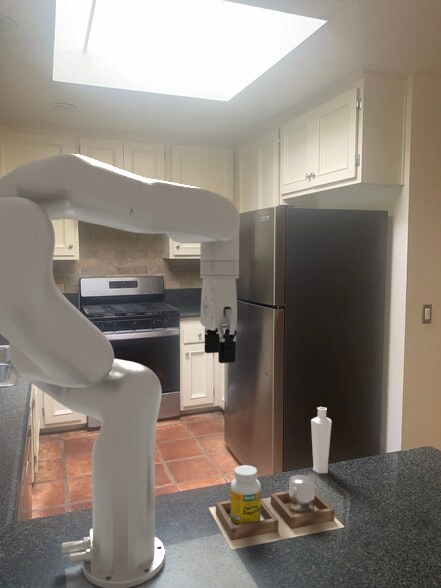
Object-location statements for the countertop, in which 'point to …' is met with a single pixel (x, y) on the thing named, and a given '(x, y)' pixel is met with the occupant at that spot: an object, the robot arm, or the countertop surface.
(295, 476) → the silver cylinder
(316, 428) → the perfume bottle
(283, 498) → the socket board
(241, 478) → the supplement bottle
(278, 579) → the countertop surface
